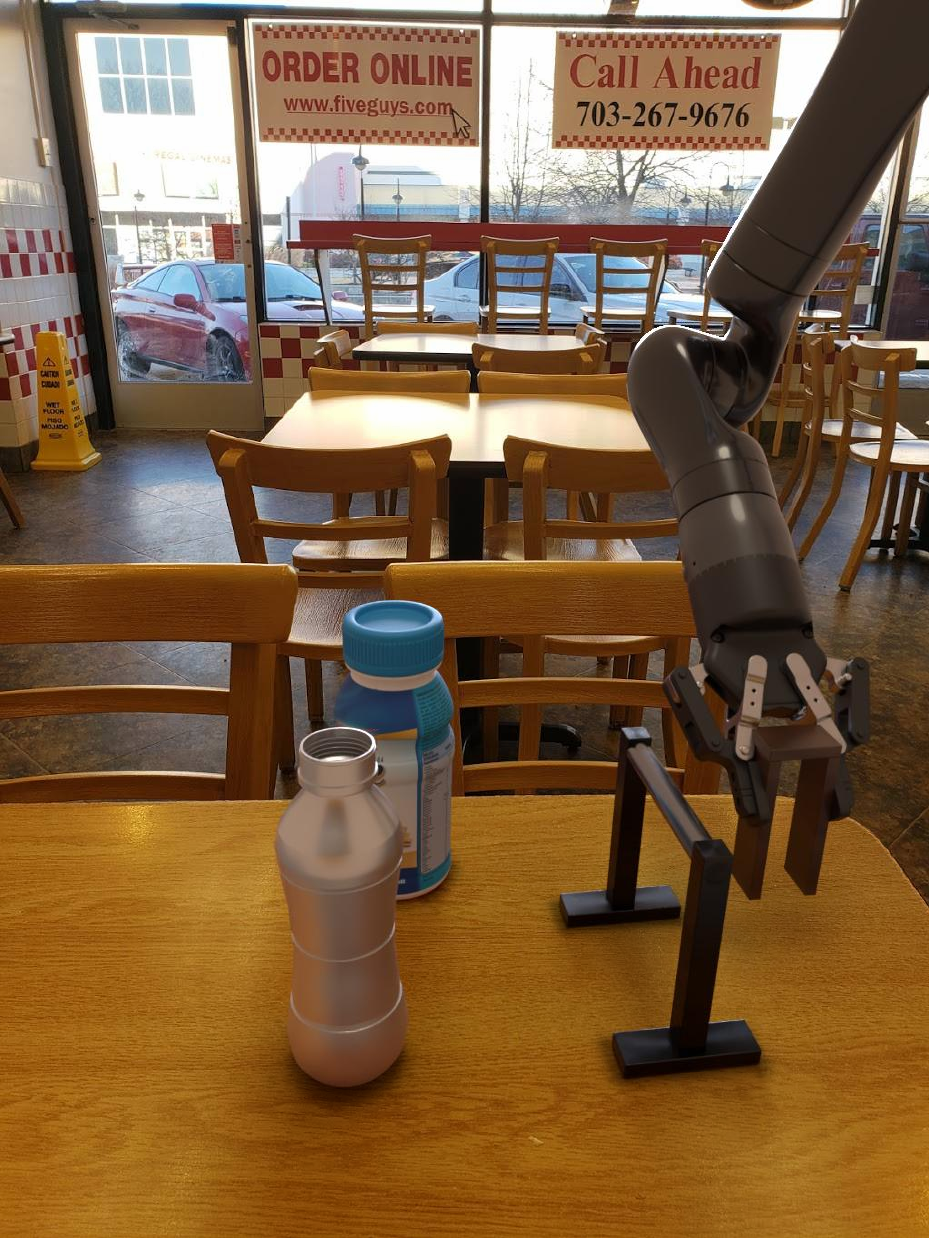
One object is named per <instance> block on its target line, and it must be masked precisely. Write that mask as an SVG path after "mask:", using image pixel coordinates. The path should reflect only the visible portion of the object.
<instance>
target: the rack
mask: <svg viewBox="0 0 929 1238" xmlns="http://www.w3.org/2000/svg"><path fill="white" fill-rule="evenodd" d="M619 735H620V736H619V746H618V758H617V768H616V781H615V790H614V791H615V792H614V802H613V812H612V824H611V833H610V835H611V836H610V844H609V845H610V846H609V855H608V867H607V879H606V887H605V888H606V889H603V890H601V889H600V890H589V891H577V892H564V893H563V892H562V893H559V900H558V906H559V909H560V911H561V914H562V916H563V920H564V922H565V924H566V925H565V926H566V927H567V928H577V927H587V926H588V927H590V926H599V925H611V924H622V923H623V924H625V923H637V922H645V921H646V922H647V921H659V920H669V919H670V920H671V919H679V918H681V913H682V912H681V911H682V905H681V904H680V901H679V900H678V898H677V896H676V894H675V892H674V890H673V889H672V887H671V886H670V884H666V885H665V884H664V885H652V886H639V887H637V886H638V878H639V877H638V875H639V865H640V857H641V850H642V849H641V848H642V847H641V846H642V839H643V829H644V819H645V808H646V800H647V793H649V796H650V797H651V799H652V800H653V802H654V804H655V805H656V807H657V808H658V810H659V812H660V813H661V815H662V816H663V818H664V819H665V821H666V823H667V824H668V826H669V828H670V829H671V831H672V832H673V834H674V836H675V837H676V839H677V841H678V842H679V844H680V845H681V847H682V848H683V849H682V850H684V852H685V853H686V855H687V857H688V859H689V860H690V865H689V872H688V879H687V880H688V881H687V889H686V896H685V904H684V912H683V919H682V926H681V927H682V928H681V933H680V934H681V935H680V941H679V942H680V943H679V951H678V956H677V958H678V959H677V967H676V974H675V981H674V989H673V997H672V1004H671V1012H670V1020H669V1026H664V1027H654V1028H645V1029H636V1030H625V1031H618V1032H617V1031H616V1032H613V1033H612V1039H611V1047H612V1049H613V1053H614V1055H615V1058H616V1060H617V1063H618V1066H619V1069H620V1072H621V1074H622V1077H623V1078H624V1079H632V1078H640V1077H650V1076H651V1077H652V1076H658V1075H667V1074H677V1073H686V1072H696V1071H704V1070H714V1069H723V1068H732V1067H740V1066H741V1067H742V1066H750V1065H751V1066H752V1065H758V1064H760V1063H761V1058H762V1052H763V1050H762V1048H761V1047H760V1045H759V1043H758V1041H757V1039H756V1037H755V1036H754V1034H753V1032H752V1030H751V1028H750V1027H749V1025H748V1023H747V1021H746V1020H745V1019H733V1020H723V1021H713V1022H710V1020H711V1013H712V1008H713V1000H714V994H715V986H716V980H717V973H718V968H719V967H718V966H719V959H720V953H721V946H722V939H723V933H724V926H725V919H726V913H727V912H726V911H727V906H728V899H729V893H730V886H731V885H730V884H731V880H732V874H731V873H732V866H733V859H734V856H733V852H731V850H730V849H729V847H728V846H727V843H725V841H724V840H723V839H722V838H714V839H713V837H712V835H711V834H710V833H709V831H708V830H707V829H706V827H705V826H704V824H703V822H702V821H701V819H700V817H699V816H698V815H697V813H696V812H695V811H694V809H693V807H692V806H691V805H690V803H689V802H688V800H687V799H686V797H685V796H684V795H683V793H682V791H681V790H680V788H679V787H678V785H677V784H676V782H675V781H674V780H673V778H672V777H671V775H670V773H669V772H668V771H667V769H666V767H665V766H664V765H663V763H662V762H661V760H660V759H659V758H658V756H657V754H656V753H655V752H654V750H653V749H652V742H653V737H652V736H651V735H650V733H649V731H648V730H647V729H646V727H645V726H635V727H621V728H620V734H619Z"/></svg>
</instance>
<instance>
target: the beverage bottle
mask: <svg viewBox="0 0 929 1238" xmlns="http://www.w3.org/2000/svg"><path fill="white" fill-rule="evenodd" d="M342 620H343V621H342V624H341V625H342V626H341V634H342V635H341V636H342V638H341V639H342V640H341V641H342V657H343V661H344V664H345V667H346V668H347V669H348V671H349V672H348V673H347V675H346V677H345V678H344V680H343V682H342V683H341V686H340V687H339V689H338V692H337V695H336V699H335V702H334V705H333V716H334V719H335V722H336V723H337V725H338V726H337V727H348V728H356V729H359V730H363V731H365V732H367V733H369V734H370V735H371V736H372V737H373V738H374V740H375V744H376V762H377V765H378V777H377V780H376V781H375V782H374V784H375V785H376V786H377V787H378V788H379V789H380V790H381V791H382V792H383V793H384V795H385V796H386V797H387V798H388V800H389V801H390V802H391V804H392V805H393V806H394V808H395V809H396V811H397V813H398V816H399V818H400V821H401V824H402V827H403V829H404V844H403V854H402V862H401V868H400V875H399V882H398V888H397V895H396V901H403V900H409V899H414V898H417V897H420V896H423V895H425V894H427V893H429V892H431V891H433V890H434V889H436V888H438V886H439V885H441V884H442V883H443V882H444V881H445V880H446V878H447V876H448V874H449V873H450V869H451V864H452V848H451V837H452V835H451V828H452V826H451V825H452V793H453V791H452V788H453V787H452V785H453V758H454V757H455V751H456V740H455V739H456V738H455V733H454V730H453V728H452V726H451V725H450V723H451V721H452V719H453V716H454V710H455V709H454V702H453V699H452V695H451V692H450V690H449V687H448V686H447V685H448V684H446V682H445V680H444V679H443V676H442V675H441V674H440V672H439V671H438V669H439V668H440V666H441V664H442V663H443V660H444V653H445V652H444V651H445V648H444V647H445V624H444V619H443V616H442V614H441V613H440V611H438V609H435V608H434V607H432V606H430V605H427V604H424V603H421V602H416V601H411V600H410V601H409V600H396V599H395V600H392V599H391V600H379V601H378V600H377V601H372V602H368V603H363V604H361V605H358V606H355V607H353V608H352V609H350V610H349V611H347V612H346V614H345V615H344V616H343V619H342Z"/></svg>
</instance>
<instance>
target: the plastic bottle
mask: <svg viewBox="0 0 929 1238" xmlns="http://www.w3.org/2000/svg"><path fill="white" fill-rule="evenodd" d="M298 757H299V759H298V760H299V766H298V768H297V782H298V784H299V786H300V787H301V789H300V790H299V791H298V792H297V794H296V795H295V796H294V797H293V798H292V799H291V800H290V802H289V803H288V805H287V807H286V808H285V810H284V811H283V813H282V814H281V816H280V818H279V820H278V822H277V825H276V830H275V833H274V839H273V848H274V854H275V861H276V865H277V868H278V874H279V878H280V882H281V885H282V889H283V893H284V896H285V901H286V906H287V911H288V918H289V925H290V933H291V939H292V947H293V950H292V973H291V975H292V976H291V977H292V978H291V991H290V996H289V1002H288V1009H287V1018H286V1020H287V1021H286V1035H287V1036H286V1037H287V1040H288V1043H289V1046H290V1050H291V1054H292V1056H293V1058H294V1060H295V1063H296V1065H298V1066H299V1068H300V1069H301V1070H302V1071H303V1072H304V1073H305V1074H307V1075H308V1076H309V1077H311V1078H312V1079H314V1080H315V1081H317V1082H319V1083H321V1084H324V1085H326V1086H330V1087H339V1088H350V1087H357V1086H361V1085H363V1084H366V1083H369V1082H372V1081H373V1080H376V1079H377V1078H378V1077H380V1076H382V1074H383V1073H385V1072H386V1071H387V1070H388V1069H389V1068H390V1067H392V1065H393V1064H394V1063H395V1062H396V1060H397V1059H398V1058H399V1056H400V1054H401V1052H402V1051H403V1048H404V1045H405V1040H406V1036H407V1031H408V1026H409V1010H408V1005H407V999H406V995H405V991H404V987H403V983H402V981H401V978H400V970H399V961H398V953H397V946H396V945H397V944H396V937H395V936H396V912H397V910H396V909H397V900H396V895H397V888H398V882H399V875H400V868H401V862H402V854H403V844H404V829H403V827H402V824H401V821H400V818H399V816H398V813H397V811H396V809H395V808H394V806H393V805H392V804H391V802H390V801H389V800H388V798H387V797H386V796H385V795H384V793H383V792H382V791H381V790H380V789H379V788H378V787H377V786H376V785H375V784H374V782H375V781H376V780H377V777H378V765H377V762H376V744H375V740H374V738H373V737H372V736H371V735H370V734H369V733H367V732H365V731H363V730H359V729H356V728H348V727H338V726H335V727H328V728H323V729H319V730H316V731H314V732H312V733H310V734H308V735H307V736H304V737H303V738H302V740H301V742H300V744H299V749H298Z"/></svg>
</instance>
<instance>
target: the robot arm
mask: <svg viewBox="0 0 929 1238" xmlns="http://www.w3.org/2000/svg"><path fill="white" fill-rule="evenodd" d="M845 26H846V27H845V28H844V30H843V33H842V34H841V37H840V39H839V41H838V43H837V44H836V46H835V49H834V51H833V52H832V54H831V57H830V59H829V60H828V63H827V65H826V66H825V68H824V71H823V72H822V74H821V76H820V78H819V80H818V82H817V84H815V86H814V89H813V91H812V92H811V94H810V96H809V98H808V100H807V101H806V103H805V105H804V106H803V108H802V110H801V112H800V114H799V115H798V117H797V119H796V121H795V122H794V123H793V126H792V127H791V129H790V130H789V133H788V134H787V136H786V137H785V139H784V141H783V143H782V144H781V146H780V148H779V149H778V151H777V153H776V154H775V156H774V158H773V159H772V161H771V162H770V165H769V166H768V168H767V170H766V171H765V173H764V174H763V176H762V178H761V180H760V181H759V183H758V184H757V186H756V188H755V189H754V191H753V193H752V195H751V196H750V197H749V200H748V201H747V203H746V204H745V206H744V208H743V210H742V211H741V213H740V215H739V217H738V219H737V220H736V221H735V223H734V225H733V226H732V228H731V229H730V231H729V233H728V235H727V237H726V239H725V241H724V242H723V244H722V246H721V248H720V249H719V250H718V252H717V254H716V256H715V258H714V260H713V261H712V263H711V266H710V267H709V270H708V272H707V275H706V283H705V284H706V288H707V292H708V294H709V295H710V297H711V298H712V299H713V301H714V302H715V303H716V304H717V305H718V306H719V307H721V308H722V309H723V310H724V311H725V312H726V313H728V314H730V315H731V316H732V319H731V323H730V326H729V328H728V331H727V333H726V334H725V335H724V337H719V336H716V335H712V334H709V333H706V332H702V331H699V330H696V329H693V328H689V327H685V326H681V325H663V326H659V327H657V328H654V329H652V330H651V331H649V332H648V333H646V334H645V335H644V336H642V338H641V339H640V341H639V342H638V343H637V344H636V346H635V347H634V349H633V351H632V354H631V356H630V358H629V361H628V366H627V370H626V391H627V400H628V403H629V406H630V409H631V413H632V415H633V418H634V419H635V422H636V424H637V426H638V428H639V430H640V432H641V433H642V435H643V438H644V439H645V441H646V443H647V445H648V447H649V449H650V451H651V453H652V455H653V457H654V459H655V460H656V463H657V464H658V466H659V467H660V469H661V470H662V472H663V474H664V476H665V477H666V479H667V481H668V484H669V488H670V489H669V490H670V494H671V499H672V504H673V507H674V514H675V518H676V523H677V527H678V534H679V549H680V559H681V564H682V577H683V581H684V582H685V584H686V588H687V593H688V598H689V604H690V608H691V612H692V618H693V622H694V627H695V631H696V636H697V641H698V644H699V647H700V649H701V653H700V659H699V662H698V664H695V665H693V666H690V667H687V666H685V665H681V664H680V665H677V666H676V667H674V668H673V670H672V671H671V672H670V673H669V674H668V675H667V676H666V677H665V678H664V680H662V683H661V689H662V691H663V694H664V695H665V698H666V699H667V702H668V704H669V706H670V708H671V710H672V712H673V714H674V717H675V718H676V720H677V723H678V725H679V727H680V729H681V731H682V733H683V735H684V737H685V739H686V741H687V744H688V746H689V748H690V750H691V752H692V755H693V756H694V758H695V759H696V760H697V761H698V762H701V763H707V762H711V763H715V764H718V765H720V766H722V767H723V768H724V769H725V771H726V773H727V776H728V782H729V786H730V792H731V795H732V800H733V805H734V810H735V812H736V814H737V815H738V816H739V817H740V819H742V818H745V820H746V824H747V826H748V827H750V828H751V827H761V826H763V825H765V824H767V823H769V822H770V820H771V814H770V809H769V805H768V800H767V796H766V792H765V789H764V785H763V780H762V776H761V772H760V767H759V763H758V761H755V762H753V756H754V753H755V742H754V737H753V733H752V729H757V727H759V725H760V722H761V719H764V718H766V717H769V718H775V719H779V720H780V719H784V720H785V721H786V723H787V725H801V724H816V725H821V726H822V727H823V728H824V729H825V730H826V731H827V732H828V733H829V734H830V735H831V736H832V737H833V738H834V739H836V740H837V741H838V742H839V743H840V744H841V745H842V752H841V756H840V763H839V769H838V774H837V780H836V785H835V790H834V795H833V801H832V806H831V812H830V817H829V823H830V822H831V823H832V822H833V823H834V822H840V821H842V820H845V819H847V818H849V817H850V816H851V813H852V809H851V808H853V807H855V804H856V796H855V792H854V789H853V784H852V781H851V776H850V772H849V769H848V766H847V762H846V756H847V754H848V753H850V752H852V751H853V750H854V749H855V748H857V747H859V746H862V745H864V744H866V743H867V742H869V741H870V739H871V688H870V684H871V683H870V679H871V677H870V673H871V671H870V669H871V668H870V663H869V661H868V660H866V658H864V657H862V656H856V657H854V658H853V659H852V660H850V661H849V660H844V659H838V658H834V657H829V656H827V654H826V652H825V650H824V649H823V648H822V647H821V646H820V644H819V643H818V641H817V640H816V638H815V635H814V634H815V633H814V619H813V618H814V617H813V614H812V611H811V607H810V603H809V599H808V595H807V592H806V588H805V584H804V580H803V576H802V573H801V569H800V565H799V561H798V558H797V554H796V549H795V546H794V543H793V538H792V535H791V532H790V529H789V527H788V526H789V525H788V524H787V522H786V519H785V517H784V515H783V513H782V511H781V507H780V504H779V501H778V497H777V493H776V489H775V485H774V482H773V478H772V474H771V470H770V467H769V464H768V460H767V457H766V454H765V452H764V449H763V447H762V445H761V444H760V443H759V441H757V440H756V438H754V437H753V436H751V435H750V434H749V433H747V432H746V431H744V430H741V428H742V427H744V426H745V425H747V424H748V423H749V422H750V421H751V420H753V419H754V417H755V416H756V415H757V414H758V413H759V412H760V411H761V409H762V407H763V406H764V404H765V402H766V400H767V399H768V396H769V394H770V392H771V389H772V386H773V383H774V380H775V378H776V375H777V372H778V369H779V367H780V364H781V361H782V358H783V356H784V353H785V350H786V348H787V345H788V342H789V339H790V337H791V334H792V332H793V328H794V325H795V322H796V320H797V318H798V315H799V312H800V311H801V309H802V307H803V306H804V304H805V303H806V301H807V300H808V298H810V295H811V294H812V293H813V292H814V290H815V288H816V287H817V285H818V284H819V283H820V281H821V280H822V278H823V277H824V275H825V274H826V272H827V270H829V267H830V266H831V264H832V263H833V261H834V260H835V259H836V257H837V255H838V254H839V252H840V251H841V249H842V248H843V246H844V245H845V243H846V242H847V239H848V238H849V237H850V235H851V234H852V232H853V230H854V228H855V227H856V225H857V224H858V222H859V220H860V219H861V216H862V215H863V213H864V211H865V209H866V208H867V206H868V204H869V202H870V201H871V198H872V196H873V195H874V193H875V191H876V189H877V188H878V185H879V184H880V182H881V180H882V177H883V176H884V175H885V172H886V170H887V168H888V166H889V165H890V163H891V161H892V159H893V157H894V155H895V153H896V152H897V149H898V147H899V146H900V144H901V142H902V140H903V139H904V137H905V135H906V134H907V132H908V130H909V128H910V126H911V125H912V123H913V121H914V120H915V118H916V116H917V115H918V114H919V112H920V110H921V108H922V107H923V105H924V104H925V102H926V101H927V99H928V97H929V0H858V1H857V3H856V6H855V7H854V9H853V12H852V13H851V15H850V19H849V21H848V22H847V24H846V25H845ZM823 677H824V678H825V679H826V681H827V686H828V690H829V692H830V693H834V699H833V700H834V701H833V702H834V703H833V706H834V707H833V708H834V710H833V711H834V712H833V711H832V709H831V707H830V705H829V704H828V702H827V700H826V698H825V697H824V695H823V693H822V692H821V690H820V688H819V685H820V682H821V680H822V678H823ZM705 685H707V686H708V687H709V688H710V689H711V691H713V692H714V693H715V694H716V695H717V696H718V697H719V698H720V699H721V700H722V701H723V702H724V704H725V706H724V713H723V714H724V715H723V723H722V732H721V730H720V728H719V726H718V724H717V722H716V720H715V718H714V716H713V714H712V711H711V710H710V708H709V706H708V704H707V702H706V700H705V697H704V695H705V693H706V686H705ZM804 710H806V711H804ZM805 712H806V713H805ZM833 713H834V714H833ZM832 715H833V716H834V717H833V718H832Z"/></svg>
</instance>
